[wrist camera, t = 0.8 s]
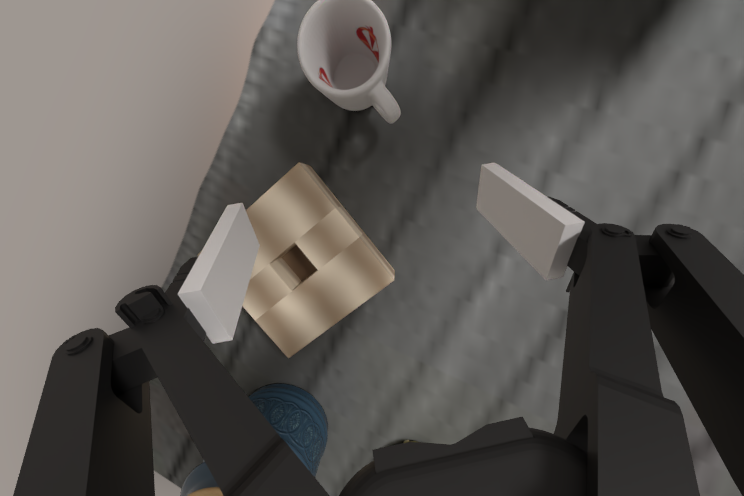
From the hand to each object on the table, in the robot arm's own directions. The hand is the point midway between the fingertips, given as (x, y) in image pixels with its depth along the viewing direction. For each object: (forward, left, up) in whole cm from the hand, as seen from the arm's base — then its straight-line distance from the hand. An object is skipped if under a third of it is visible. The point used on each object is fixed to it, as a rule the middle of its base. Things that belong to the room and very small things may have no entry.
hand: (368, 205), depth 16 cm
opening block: (+12, 0, -18) cm, 22 cm away
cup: (-6, -10, -18) cm, 22 cm away
